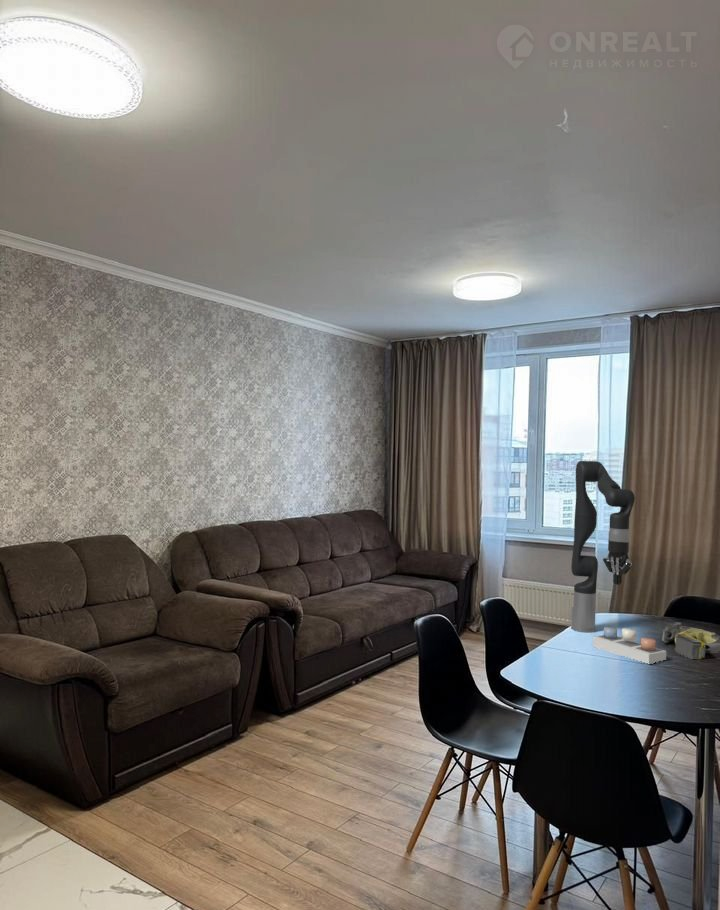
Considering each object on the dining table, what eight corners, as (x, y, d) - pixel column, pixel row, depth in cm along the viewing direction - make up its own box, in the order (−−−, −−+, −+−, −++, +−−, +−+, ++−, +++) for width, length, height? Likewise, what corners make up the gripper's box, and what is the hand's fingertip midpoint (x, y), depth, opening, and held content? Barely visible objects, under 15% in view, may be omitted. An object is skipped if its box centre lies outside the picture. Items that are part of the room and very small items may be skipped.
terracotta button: (638, 647, 242) (638, 638, 242) (646, 646, 244) (646, 637, 244) (649, 651, 237) (650, 642, 237) (658, 650, 240) (658, 640, 240)
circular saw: (665, 636, 276) (730, 652, 258) (639, 648, 254) (707, 666, 237) (667, 612, 276) (732, 626, 258) (641, 622, 254) (710, 638, 237)
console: (593, 646, 256) (593, 636, 257) (609, 643, 261) (610, 633, 261) (648, 665, 235) (649, 653, 235) (666, 661, 240) (666, 650, 240)
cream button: (619, 637, 249) (619, 628, 249) (627, 636, 252) (627, 627, 252) (630, 641, 245) (630, 632, 245) (638, 639, 247) (639, 630, 247)
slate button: (600, 636, 256) (601, 627, 256) (609, 634, 259) (609, 626, 259) (611, 639, 252) (611, 630, 252) (619, 638, 255) (620, 629, 255)
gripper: (598, 538, 256) (596, 581, 256) (626, 542, 245) (625, 588, 245) (611, 537, 260) (609, 580, 260) (639, 541, 249) (638, 586, 248)
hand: (617, 584), depth 252 cm, fingers closed
